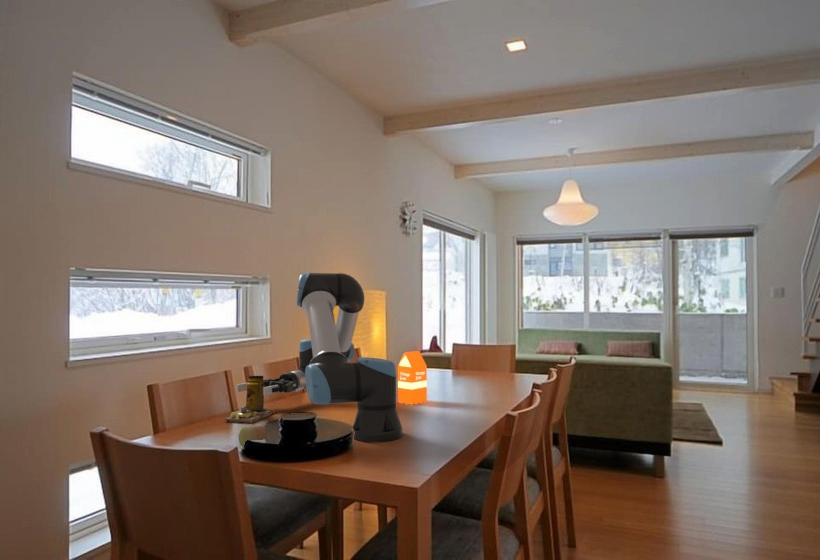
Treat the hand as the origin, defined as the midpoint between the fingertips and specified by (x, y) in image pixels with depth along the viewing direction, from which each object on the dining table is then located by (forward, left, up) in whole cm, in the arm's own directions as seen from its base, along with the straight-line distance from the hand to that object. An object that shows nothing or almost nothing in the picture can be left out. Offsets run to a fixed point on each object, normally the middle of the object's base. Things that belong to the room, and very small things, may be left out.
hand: (250, 389), depth 193 cm
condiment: (+3, -1, -8) cm, 8 cm away
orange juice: (+36, -51, -10) cm, 63 cm away
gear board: (-1, -1, -9) cm, 10 cm away
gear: (-5, 0, -8) cm, 10 cm away
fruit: (-37, -22, -10) cm, 44 cm away
